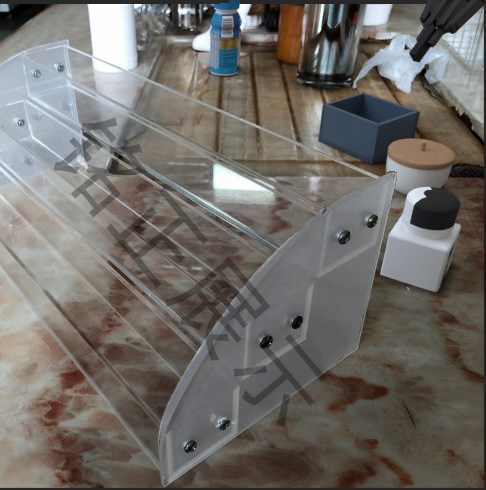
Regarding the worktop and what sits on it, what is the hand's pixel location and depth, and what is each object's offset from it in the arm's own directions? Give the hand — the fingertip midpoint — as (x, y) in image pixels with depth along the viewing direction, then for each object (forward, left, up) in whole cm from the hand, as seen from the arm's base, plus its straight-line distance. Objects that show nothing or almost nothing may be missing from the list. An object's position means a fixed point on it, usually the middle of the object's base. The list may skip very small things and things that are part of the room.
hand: (414, 57), depth 118 cm
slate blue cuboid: (+3, +4, -12) cm, 13 cm away
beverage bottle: (+43, -34, -16) cm, 57 cm away
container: (+2, +53, -16) cm, 55 cm away
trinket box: (0, +27, -16) cm, 31 cm away
